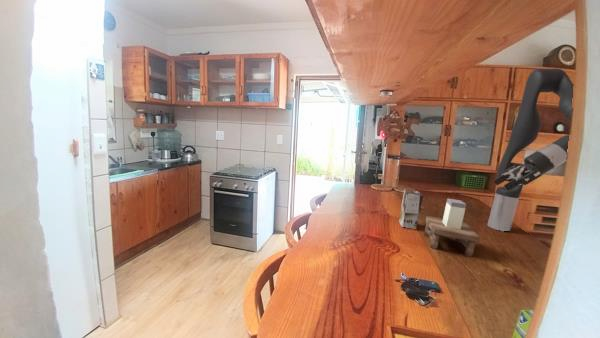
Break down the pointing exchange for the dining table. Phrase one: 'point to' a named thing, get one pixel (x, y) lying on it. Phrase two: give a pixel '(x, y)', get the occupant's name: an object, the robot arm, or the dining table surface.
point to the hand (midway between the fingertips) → (499, 185)
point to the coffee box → (410, 208)
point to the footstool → (450, 234)
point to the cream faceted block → (454, 213)
